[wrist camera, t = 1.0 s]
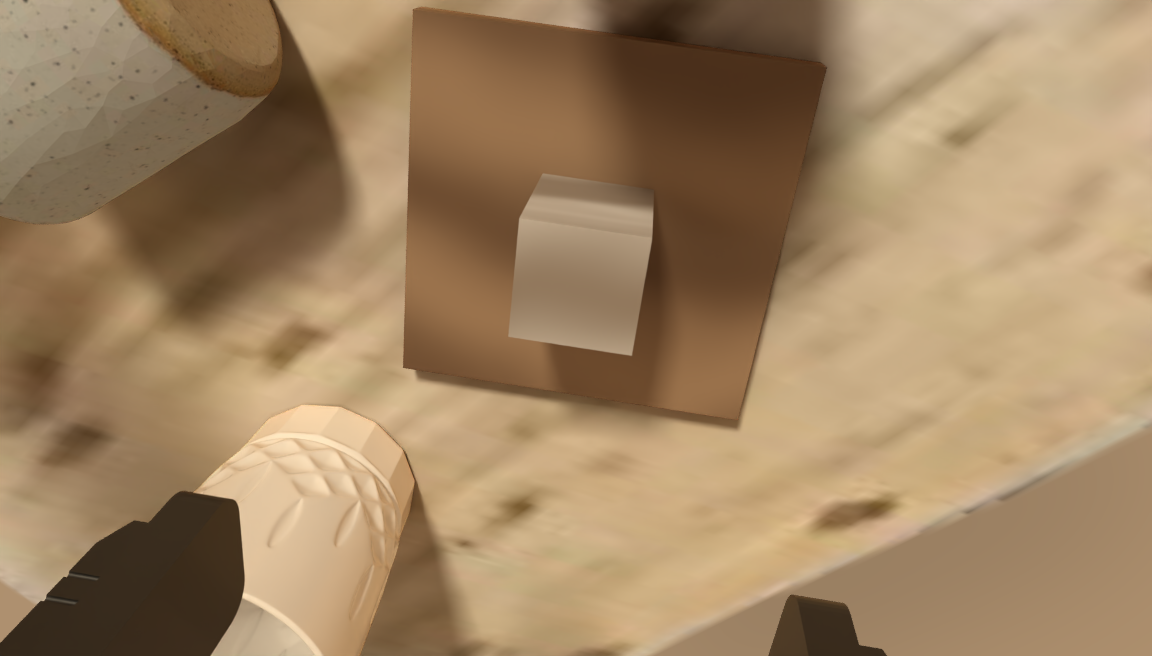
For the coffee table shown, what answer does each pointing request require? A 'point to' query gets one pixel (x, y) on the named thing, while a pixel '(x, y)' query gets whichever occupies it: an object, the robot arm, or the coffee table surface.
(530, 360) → the walnut lid
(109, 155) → the ceramic mug
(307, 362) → the coffee table surface
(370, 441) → the white cup
